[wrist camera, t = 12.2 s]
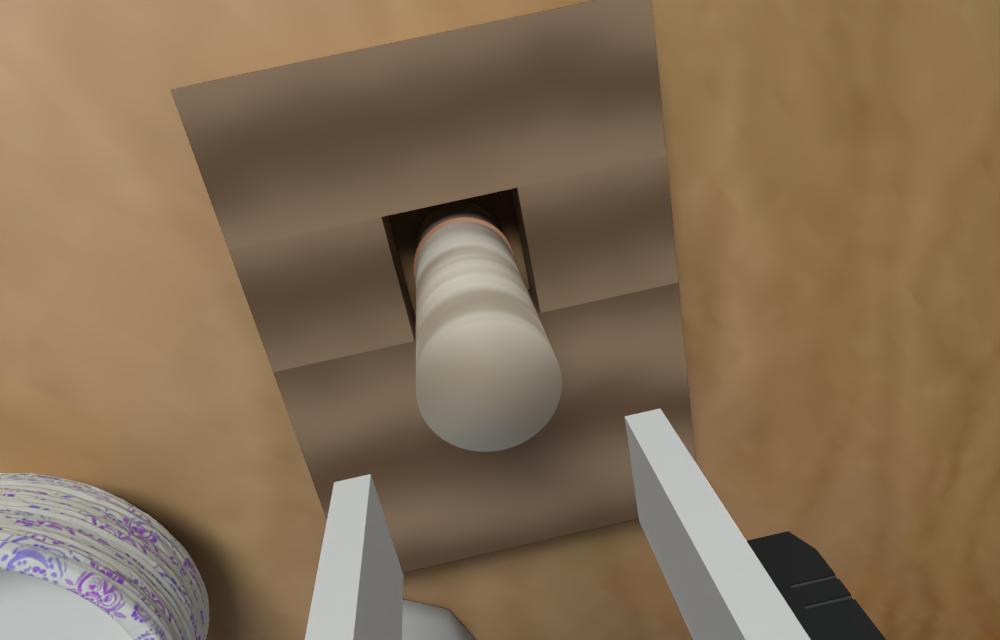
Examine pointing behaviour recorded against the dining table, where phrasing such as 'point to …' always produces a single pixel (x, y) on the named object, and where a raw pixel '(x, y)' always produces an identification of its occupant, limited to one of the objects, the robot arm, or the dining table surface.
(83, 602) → the paper bowls
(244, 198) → the board
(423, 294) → the peg
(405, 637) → the flask
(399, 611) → the robot arm
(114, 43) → the dining table surface
